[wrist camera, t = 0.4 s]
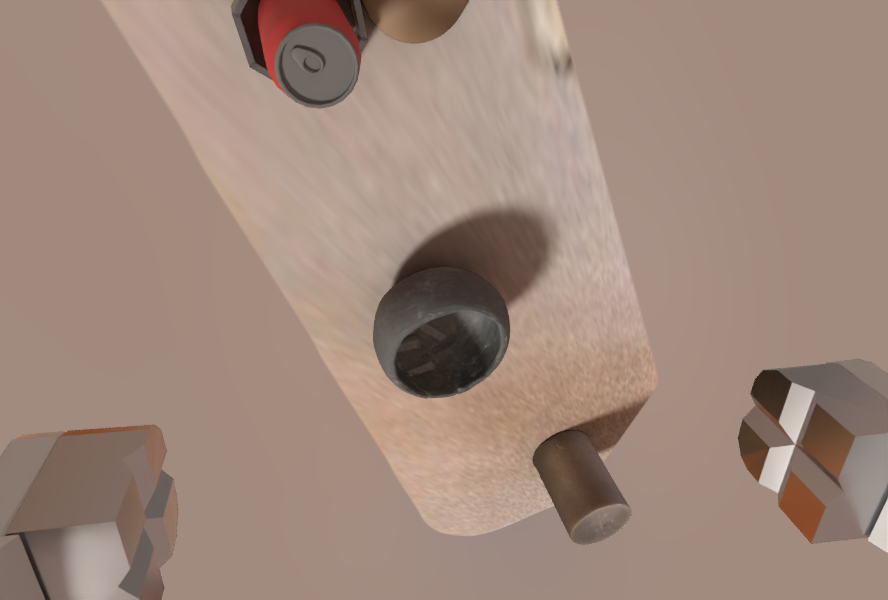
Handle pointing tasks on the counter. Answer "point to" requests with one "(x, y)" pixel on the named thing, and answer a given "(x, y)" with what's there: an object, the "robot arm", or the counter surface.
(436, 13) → the walnut coaster
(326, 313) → the counter surface
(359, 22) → the can collar
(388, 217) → the counter surface
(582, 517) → the pillar candle
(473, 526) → the counter surface
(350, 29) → the beer can
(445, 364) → the bowl
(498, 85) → the counter surface
